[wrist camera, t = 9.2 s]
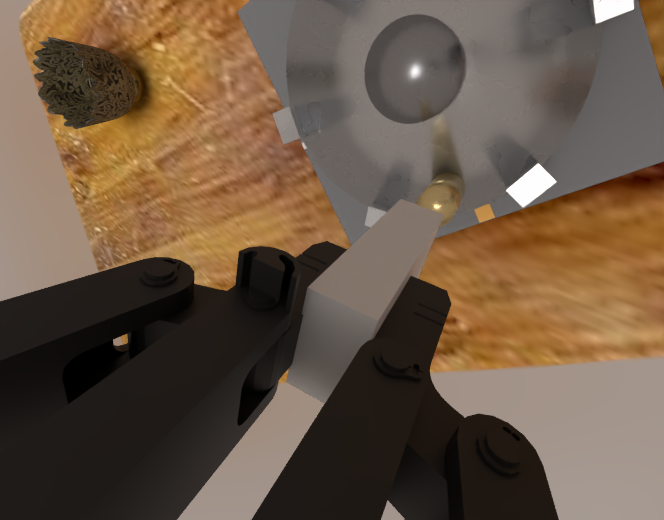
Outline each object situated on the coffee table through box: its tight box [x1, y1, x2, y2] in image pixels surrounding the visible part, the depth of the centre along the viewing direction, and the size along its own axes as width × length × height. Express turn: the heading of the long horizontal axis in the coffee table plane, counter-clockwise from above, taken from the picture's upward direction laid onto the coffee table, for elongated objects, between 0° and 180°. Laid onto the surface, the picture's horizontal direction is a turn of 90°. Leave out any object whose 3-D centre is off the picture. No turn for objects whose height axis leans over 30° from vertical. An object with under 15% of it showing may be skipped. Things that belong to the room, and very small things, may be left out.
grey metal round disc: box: [273, 0, 634, 227], centre depth 24 cm, size 20×22×8 cm
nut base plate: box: [238, 0, 664, 245], centre depth 28 cm, size 24×24×2 cm
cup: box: [33, 37, 144, 129], centre depth 38 cm, size 8×7×8 cm
